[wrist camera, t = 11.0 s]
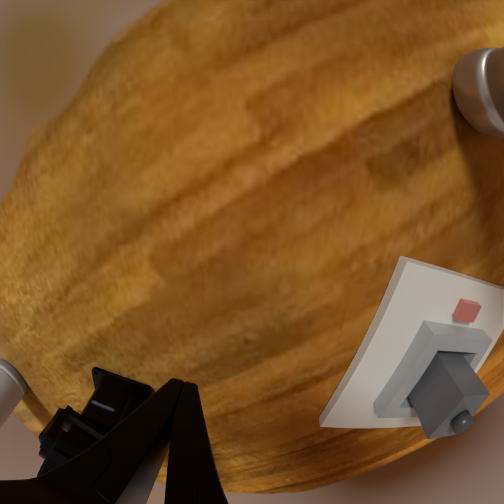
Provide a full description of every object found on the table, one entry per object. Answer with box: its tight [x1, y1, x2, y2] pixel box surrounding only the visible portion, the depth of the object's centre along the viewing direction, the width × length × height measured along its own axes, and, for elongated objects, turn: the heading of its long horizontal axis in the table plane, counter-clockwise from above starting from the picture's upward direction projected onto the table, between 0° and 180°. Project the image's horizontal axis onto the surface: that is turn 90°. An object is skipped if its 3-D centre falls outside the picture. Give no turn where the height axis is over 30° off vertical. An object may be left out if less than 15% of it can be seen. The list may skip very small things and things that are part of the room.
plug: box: [408, 350, 490, 439], centre depth 18 cm, size 5×4×8 cm
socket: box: [319, 256, 504, 428], centre depth 21 cm, size 18×16×3 cm
